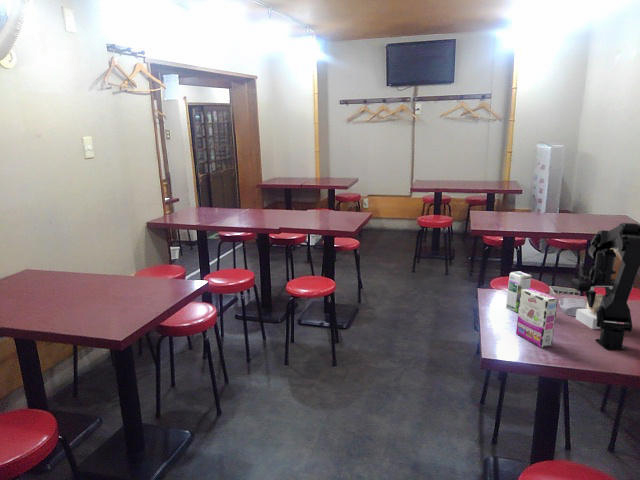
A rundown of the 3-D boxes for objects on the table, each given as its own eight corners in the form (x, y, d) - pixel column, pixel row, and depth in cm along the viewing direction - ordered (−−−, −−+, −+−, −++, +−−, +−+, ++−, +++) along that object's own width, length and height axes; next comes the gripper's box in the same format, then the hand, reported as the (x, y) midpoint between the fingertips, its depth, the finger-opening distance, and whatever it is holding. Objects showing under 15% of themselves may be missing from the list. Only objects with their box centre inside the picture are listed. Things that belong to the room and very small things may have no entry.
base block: (615, 328, 158) (617, 318, 157) (592, 329, 157) (593, 319, 156) (598, 318, 167) (599, 308, 166) (575, 319, 166) (576, 309, 165)
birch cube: (608, 312, 159) (610, 299, 157) (594, 312, 159) (596, 299, 157) (600, 307, 163) (602, 294, 162) (586, 307, 163) (588, 294, 162)
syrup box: (505, 307, 176) (508, 272, 173) (516, 305, 179) (519, 270, 175) (516, 312, 171) (520, 276, 168) (528, 310, 174) (532, 274, 170)
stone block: (565, 320, 169) (594, 317, 166) (564, 308, 168) (593, 305, 166) (555, 309, 180) (582, 306, 178) (554, 298, 179) (581, 295, 177)
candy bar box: (552, 345, 146) (559, 298, 142) (541, 348, 144) (547, 300, 140) (526, 331, 156) (531, 287, 152) (515, 333, 154) (519, 289, 150)
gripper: (616, 259, 164) (610, 299, 168) (565, 259, 165) (560, 299, 169) (637, 268, 154) (629, 310, 158) (582, 268, 154) (576, 311, 158)
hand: (597, 307), depth 161 cm, fingers closed on birch cube, 5 cm apart
